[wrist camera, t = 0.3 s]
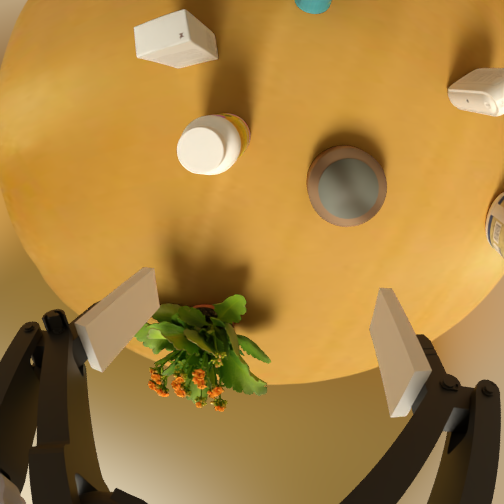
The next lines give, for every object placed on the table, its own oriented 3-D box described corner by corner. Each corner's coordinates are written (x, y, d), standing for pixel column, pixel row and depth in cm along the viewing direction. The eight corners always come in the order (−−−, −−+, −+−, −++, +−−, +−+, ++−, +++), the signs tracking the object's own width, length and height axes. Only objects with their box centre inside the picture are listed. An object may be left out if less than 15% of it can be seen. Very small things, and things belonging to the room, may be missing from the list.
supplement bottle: (243, 107, 33) (223, 107, 22) (256, 152, 36) (243, 174, 25) (197, 121, 35) (158, 130, 23) (210, 164, 38) (180, 191, 27)
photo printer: (455, 113, 28) (506, 124, 18) (442, 88, 27) (492, 90, 16) (489, 88, 24) (539, 94, 13) (477, 65, 23) (527, 65, 12)
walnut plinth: (340, 129, 33) (345, 131, 30) (393, 180, 35) (402, 187, 33) (290, 187, 38) (291, 194, 35) (345, 231, 40) (349, 241, 38)
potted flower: (202, 243, 44) (163, 317, 29) (303, 321, 50) (305, 401, 35) (139, 316, 55) (105, 378, 40) (223, 371, 61) (209, 434, 46)
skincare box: (215, 33, 28) (186, 7, 17) (219, 59, 30) (191, 41, 19) (173, 44, 29) (132, 26, 18) (177, 69, 31) (136, 59, 20)
